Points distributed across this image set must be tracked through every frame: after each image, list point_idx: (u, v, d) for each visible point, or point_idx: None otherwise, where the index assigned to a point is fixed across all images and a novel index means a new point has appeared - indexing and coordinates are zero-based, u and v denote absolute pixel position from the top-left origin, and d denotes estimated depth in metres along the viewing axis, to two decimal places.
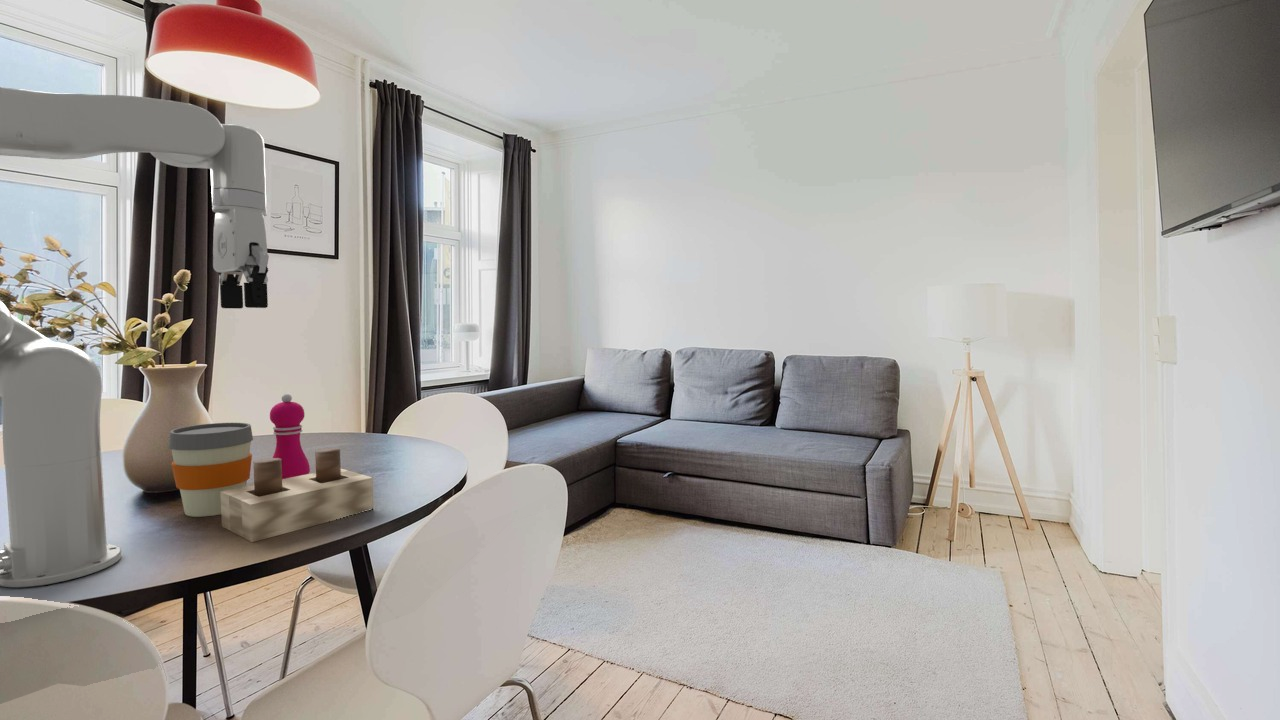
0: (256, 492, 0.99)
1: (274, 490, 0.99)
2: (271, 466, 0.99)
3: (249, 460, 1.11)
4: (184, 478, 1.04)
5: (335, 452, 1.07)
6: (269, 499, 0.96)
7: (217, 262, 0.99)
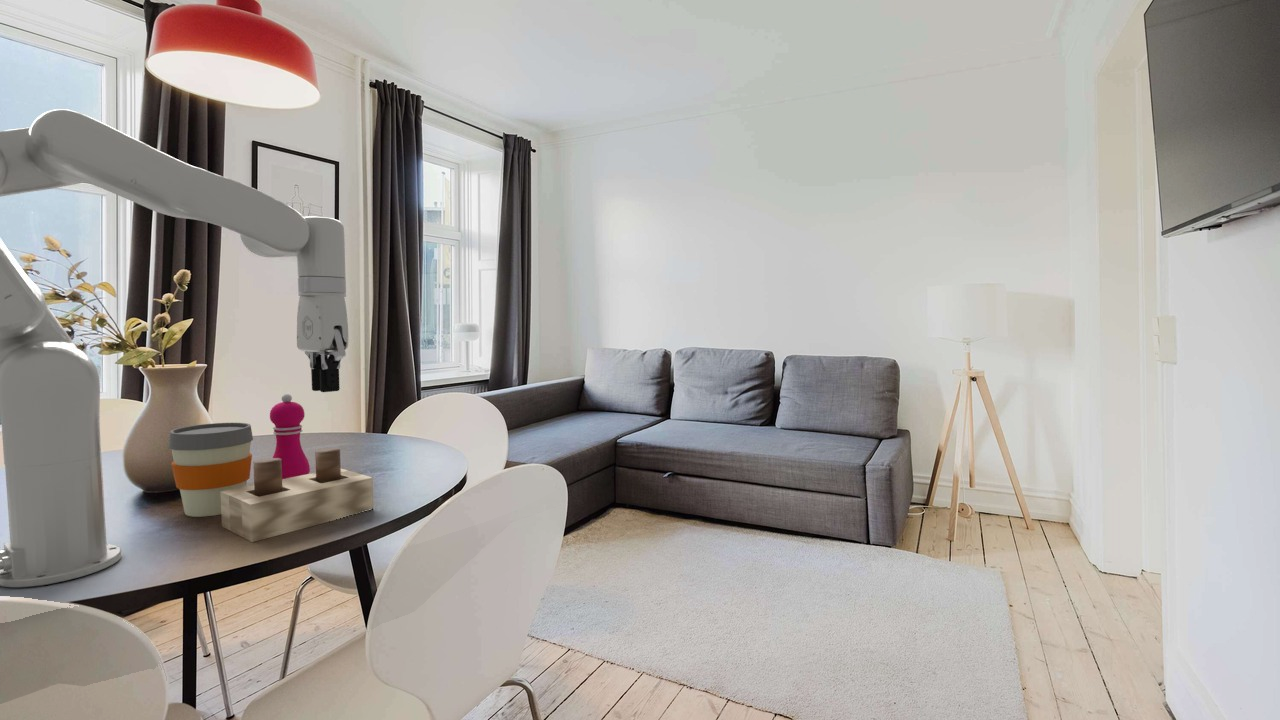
0: (256, 492, 0.99)
1: (274, 490, 0.99)
2: (271, 466, 0.99)
3: (249, 460, 1.11)
4: (184, 478, 1.04)
5: (335, 452, 1.07)
6: (269, 499, 0.96)
7: (302, 342, 1.06)
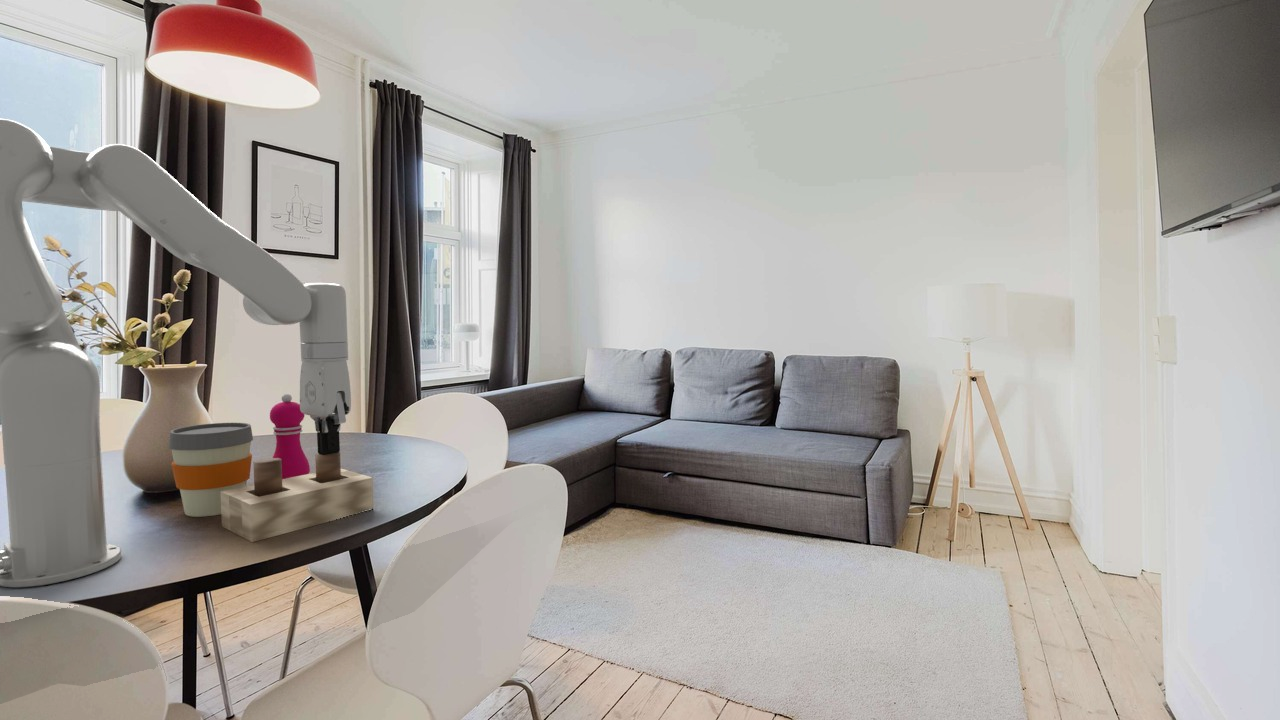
0: (256, 492, 0.99)
1: (274, 490, 0.99)
2: (271, 466, 0.99)
3: (249, 460, 1.11)
4: (184, 478, 1.04)
5: (335, 455, 1.07)
6: (269, 499, 0.96)
7: (305, 406, 1.07)
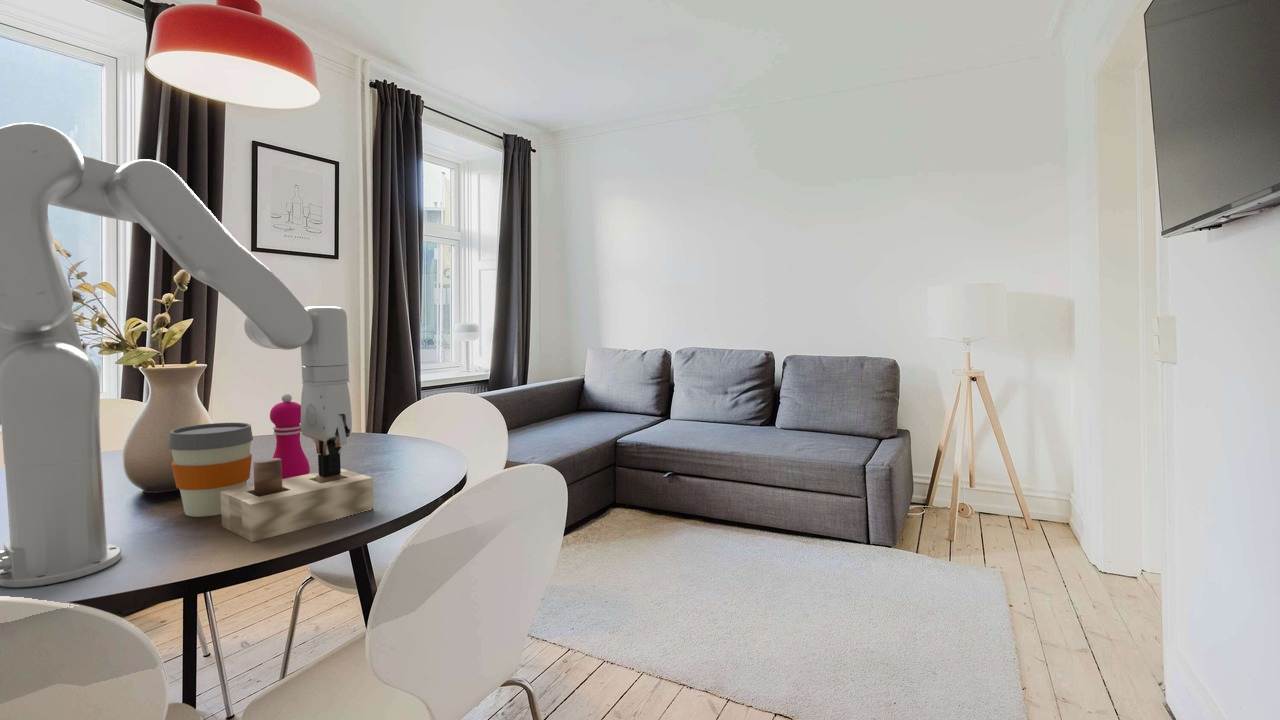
0: (256, 492, 0.99)
1: (274, 490, 0.99)
2: (271, 466, 0.99)
3: (249, 460, 1.11)
4: (184, 478, 1.04)
5: (336, 477, 1.08)
6: (269, 499, 0.96)
7: (306, 429, 1.07)
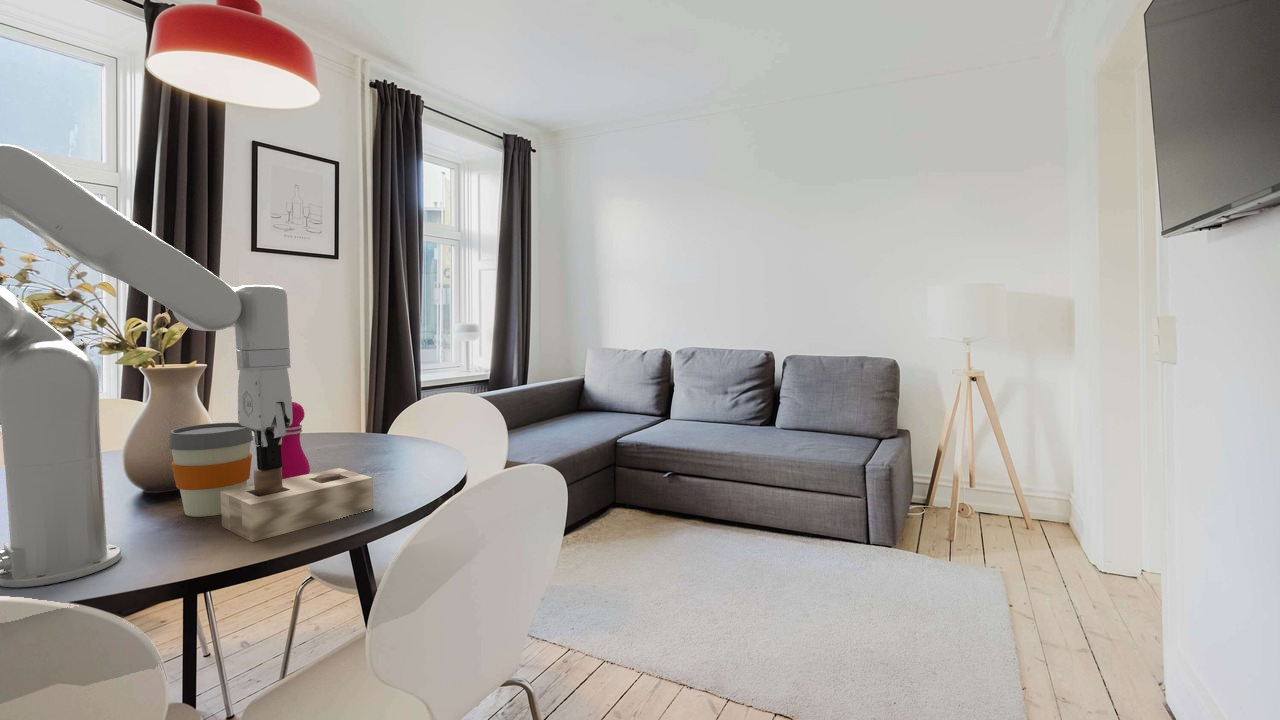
0: None
1: None
2: (271, 474, 0.99)
3: (249, 460, 1.11)
4: (184, 478, 1.04)
5: (336, 478, 1.08)
6: (269, 499, 0.96)
7: (242, 418, 0.99)
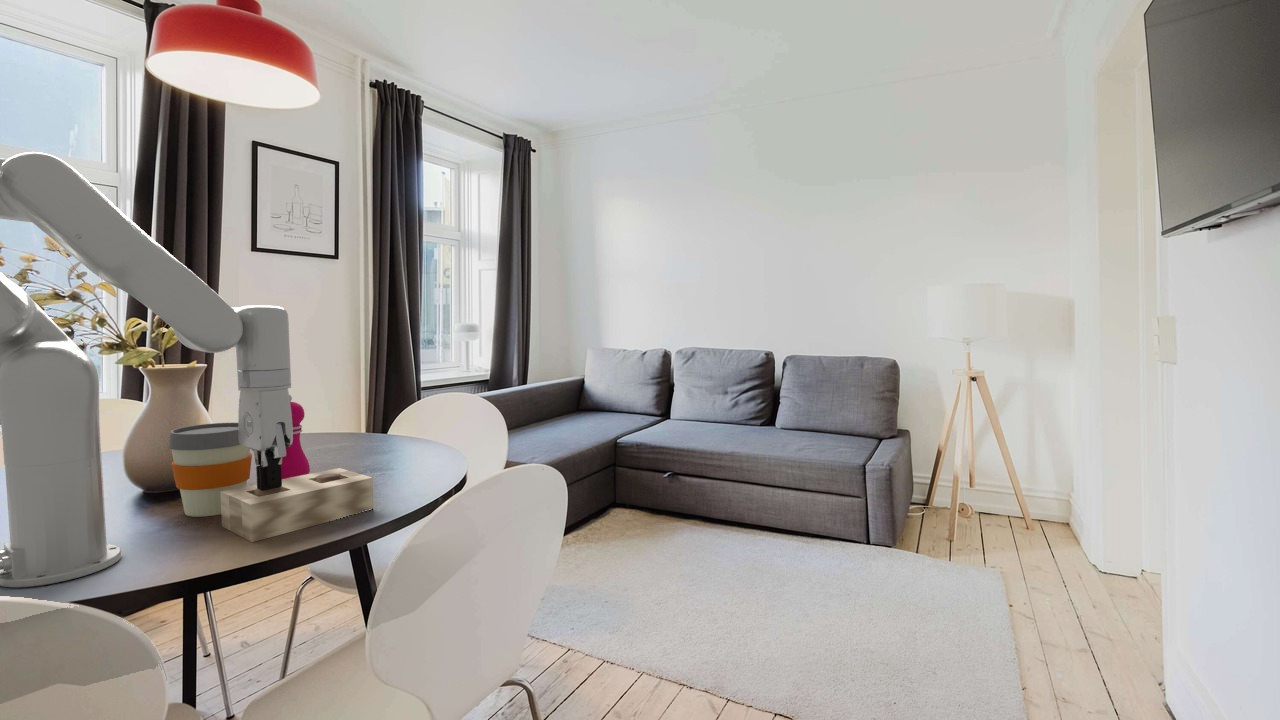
0: None
1: None
2: (272, 493, 0.99)
3: (249, 460, 1.11)
4: (184, 478, 1.04)
5: (336, 478, 1.08)
6: (269, 499, 0.96)
7: (243, 438, 0.99)
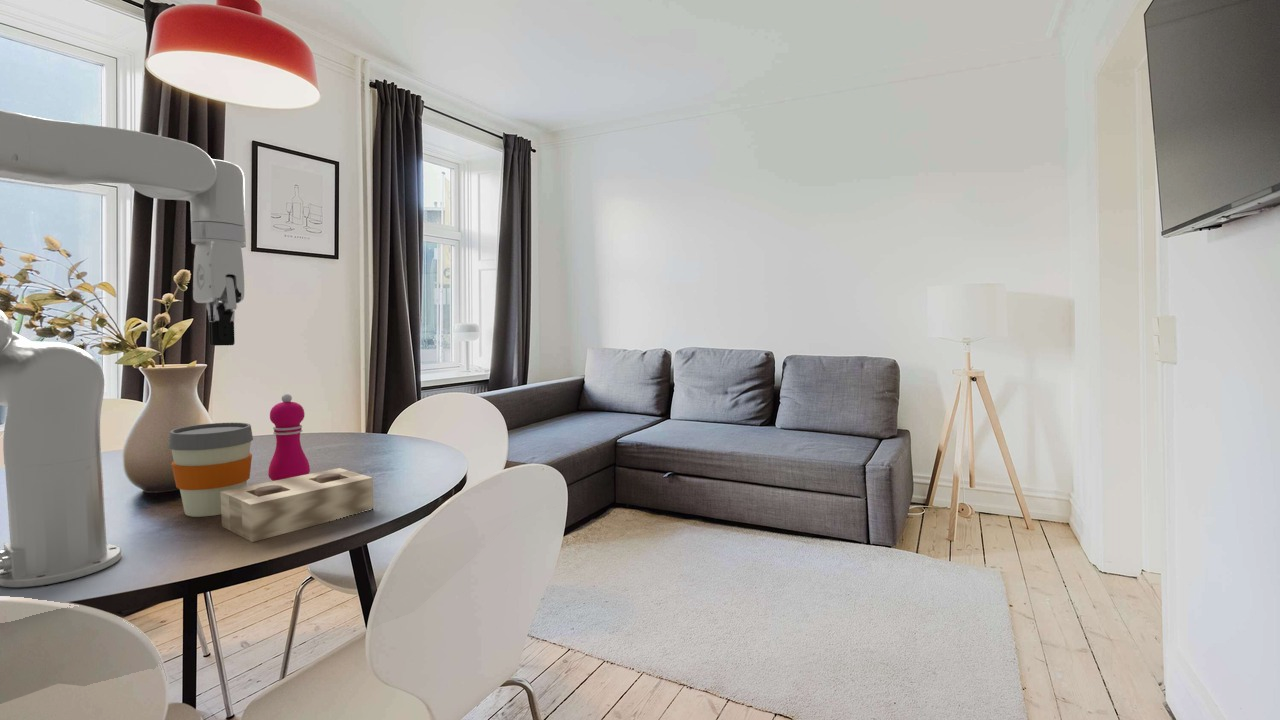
0: None
1: None
2: None
3: (249, 460, 1.11)
4: (184, 478, 1.04)
5: (336, 478, 1.08)
6: (269, 499, 0.96)
7: (196, 293, 1.00)
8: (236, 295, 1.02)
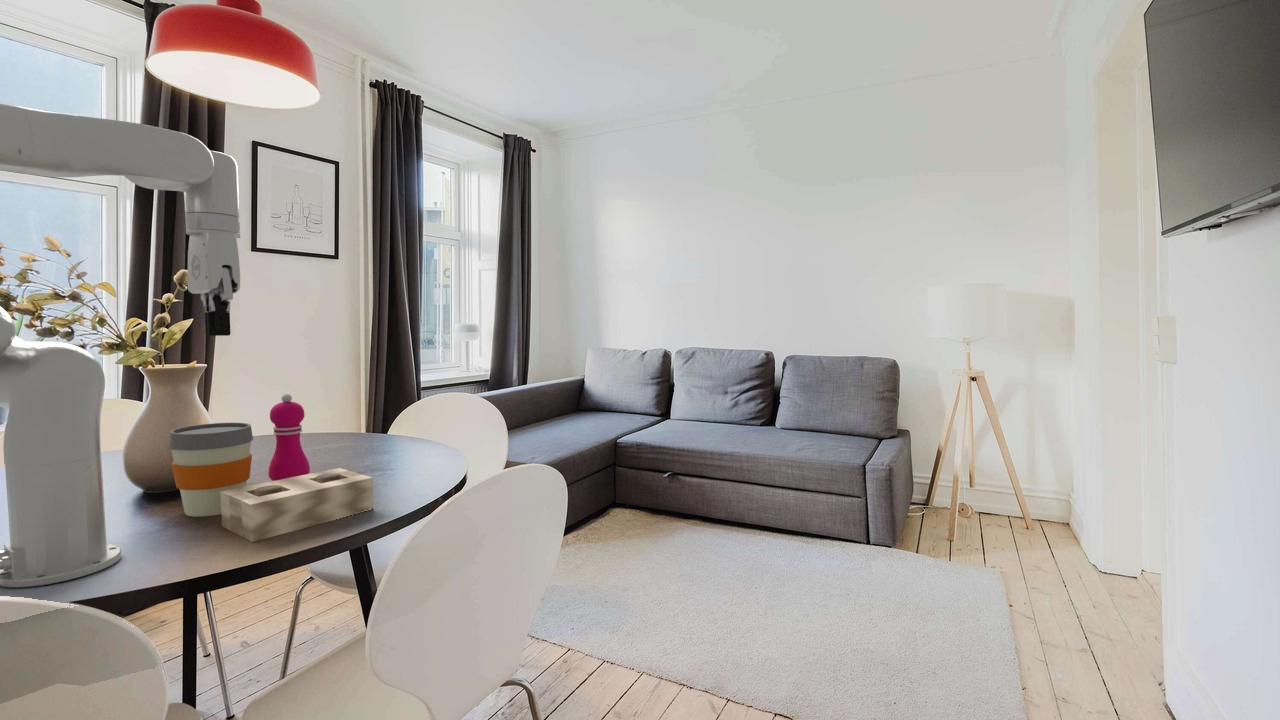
0: None
1: None
2: None
3: (249, 460, 1.11)
4: (184, 478, 1.04)
5: (336, 478, 1.08)
6: (269, 499, 0.96)
7: (191, 284, 1.01)
8: (231, 286, 1.03)
